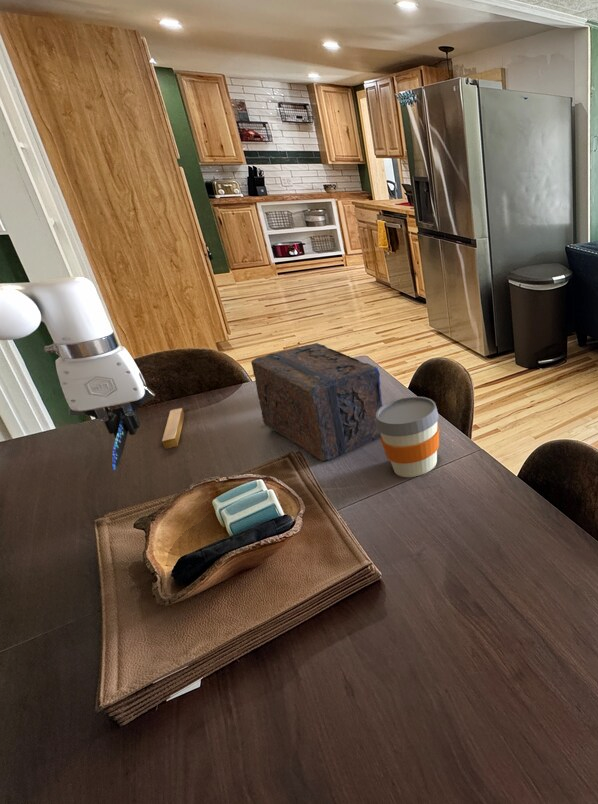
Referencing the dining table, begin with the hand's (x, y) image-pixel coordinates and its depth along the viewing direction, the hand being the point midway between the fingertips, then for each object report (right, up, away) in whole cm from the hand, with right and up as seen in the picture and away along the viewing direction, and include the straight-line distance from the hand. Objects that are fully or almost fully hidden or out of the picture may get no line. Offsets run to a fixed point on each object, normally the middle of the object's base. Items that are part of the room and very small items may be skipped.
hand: (126, 432), depth 92 cm
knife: (0, -1, 0) cm, 1 cm away
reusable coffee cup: (+51, -10, +14) cm, 54 cm away
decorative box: (+24, -4, +28) cm, 37 cm away
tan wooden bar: (-15, -4, +27) cm, 32 cm away
